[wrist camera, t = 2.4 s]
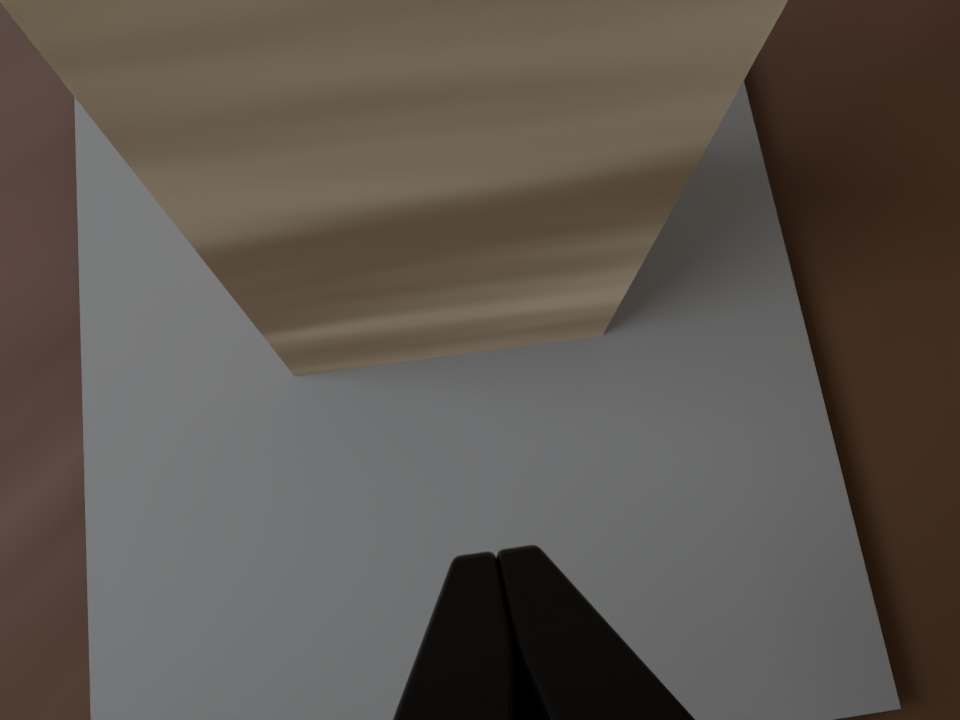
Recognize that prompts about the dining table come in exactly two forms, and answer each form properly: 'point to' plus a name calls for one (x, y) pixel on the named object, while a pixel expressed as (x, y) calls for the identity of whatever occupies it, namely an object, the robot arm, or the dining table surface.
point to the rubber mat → (464, 478)
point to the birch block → (409, 152)
